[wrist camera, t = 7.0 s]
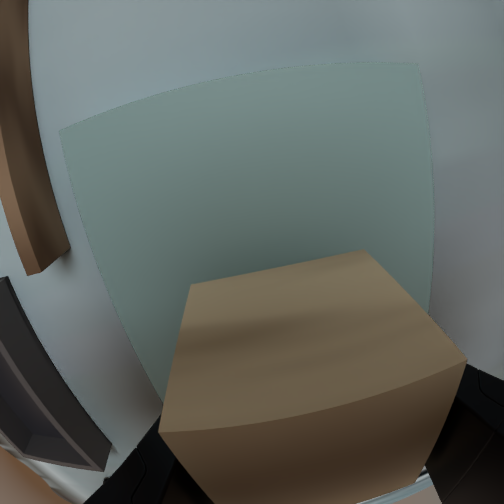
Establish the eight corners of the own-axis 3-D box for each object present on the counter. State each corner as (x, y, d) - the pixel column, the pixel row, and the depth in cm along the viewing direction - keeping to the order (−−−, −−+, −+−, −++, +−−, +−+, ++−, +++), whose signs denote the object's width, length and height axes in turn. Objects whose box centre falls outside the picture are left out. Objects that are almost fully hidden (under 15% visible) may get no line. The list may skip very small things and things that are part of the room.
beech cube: (364, 373, 10) (414, 482, 6) (231, 401, 10) (234, 524, 6) (364, 249, 9) (467, 359, 4) (190, 284, 9) (157, 432, 4)
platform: (397, 381, 16) (410, 404, 14) (195, 424, 16) (192, 451, 14) (391, 71, 10) (418, 63, 8) (85, 129, 10) (58, 130, 8)
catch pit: (111, 444, 17) (104, 472, 14) (33, 435, 17) (23, 457, 15) (7, 276, 12) (-21, 299, 9) (-58, 295, 12) (-80, 313, 10)
